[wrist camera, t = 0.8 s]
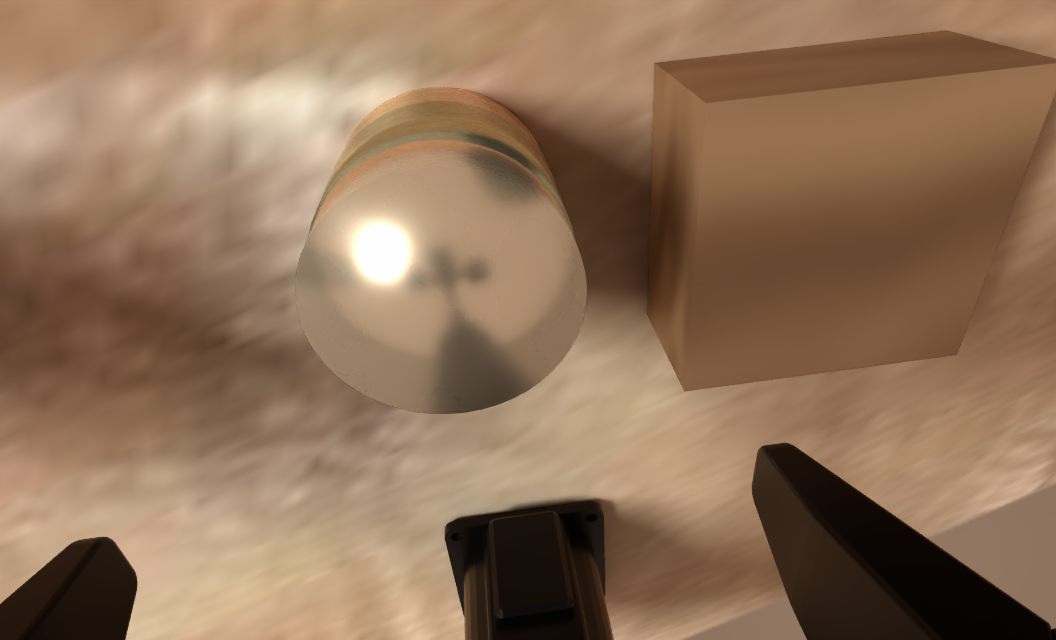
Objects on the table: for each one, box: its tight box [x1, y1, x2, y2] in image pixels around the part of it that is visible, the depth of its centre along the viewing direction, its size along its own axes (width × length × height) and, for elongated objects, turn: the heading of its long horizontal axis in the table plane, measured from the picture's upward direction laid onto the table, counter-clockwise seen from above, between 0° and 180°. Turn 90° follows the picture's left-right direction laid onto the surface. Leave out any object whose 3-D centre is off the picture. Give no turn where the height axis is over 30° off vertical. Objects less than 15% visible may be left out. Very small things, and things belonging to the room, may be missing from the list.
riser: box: [647, 31, 1056, 391], centre depth 17 cm, size 8×8×4 cm
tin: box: [295, 87, 587, 414], centre depth 16 cm, size 6×6×6 cm
